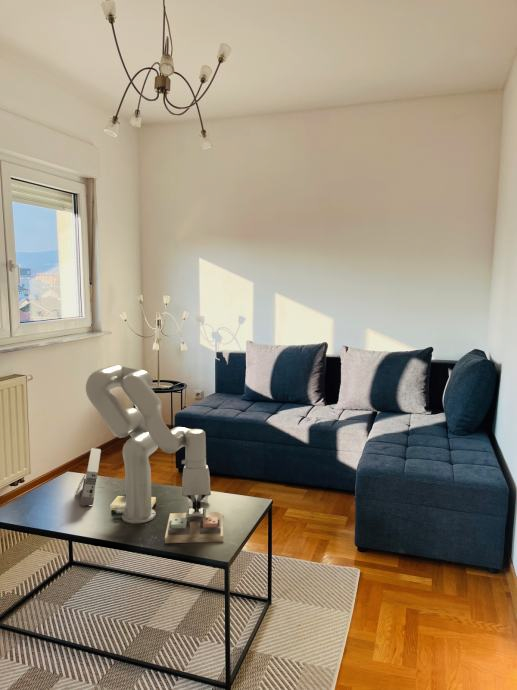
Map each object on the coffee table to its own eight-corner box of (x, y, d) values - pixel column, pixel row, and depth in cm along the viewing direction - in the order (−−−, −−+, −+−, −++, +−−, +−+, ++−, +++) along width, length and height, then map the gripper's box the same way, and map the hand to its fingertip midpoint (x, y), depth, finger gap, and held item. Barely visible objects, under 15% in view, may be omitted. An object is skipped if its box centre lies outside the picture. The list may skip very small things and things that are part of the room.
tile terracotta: (202, 529, 187) (202, 523, 187) (203, 522, 192) (203, 517, 192) (217, 528, 187) (217, 522, 187) (217, 522, 192) (217, 516, 192)
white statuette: (210, 480, 219) (196, 493, 208) (211, 499, 221) (198, 513, 210) (197, 478, 221) (182, 491, 210) (198, 497, 223) (183, 511, 212)
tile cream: (188, 519, 196) (188, 513, 196) (189, 513, 202) (189, 508, 201) (202, 518, 197) (202, 513, 197) (203, 513, 202) (203, 507, 202)
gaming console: (76, 489, 232) (84, 444, 231) (93, 491, 234) (102, 447, 233) (71, 510, 210) (81, 461, 209) (91, 512, 212) (100, 463, 211)
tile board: (164, 543, 183) (164, 532, 183) (170, 518, 203) (169, 508, 203) (223, 541, 185) (223, 530, 184) (222, 516, 205) (222, 506, 204)
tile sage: (171, 530, 186) (171, 524, 186) (172, 523, 191) (172, 517, 191) (186, 529, 186) (186, 523, 186) (187, 523, 192) (186, 517, 191)
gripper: (174, 467, 193) (175, 515, 195) (216, 465, 194) (216, 514, 196) (176, 460, 200) (177, 507, 202) (216, 459, 201) (216, 506, 203)
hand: (196, 510), depth 199 cm, fingers closed
